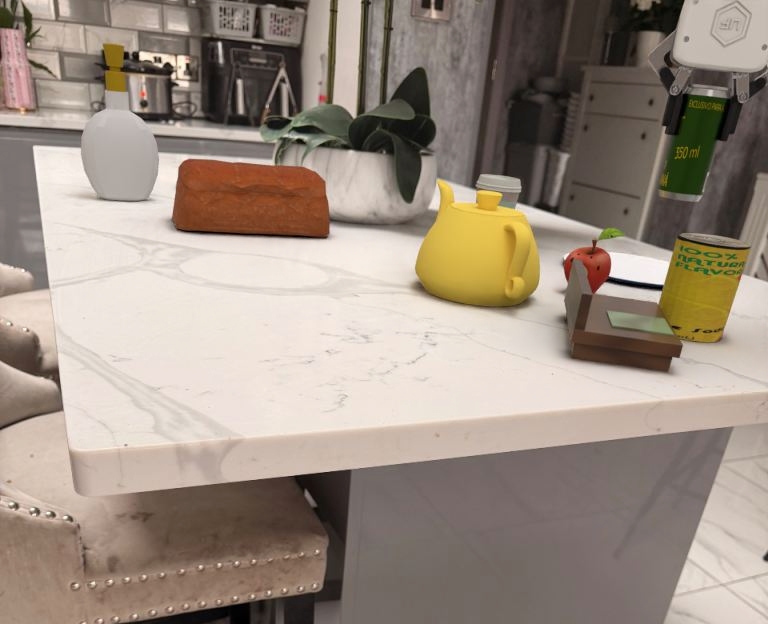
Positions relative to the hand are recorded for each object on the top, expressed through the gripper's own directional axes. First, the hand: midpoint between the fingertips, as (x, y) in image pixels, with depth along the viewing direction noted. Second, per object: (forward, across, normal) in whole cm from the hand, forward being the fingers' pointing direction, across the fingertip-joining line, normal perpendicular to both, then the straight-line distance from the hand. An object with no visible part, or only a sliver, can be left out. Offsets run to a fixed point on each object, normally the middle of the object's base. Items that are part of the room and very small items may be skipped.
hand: (695, 135), depth 90 cm
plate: (+24, +2, +40) cm, 47 cm away
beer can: (+7, 0, 0) cm, 7 cm away
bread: (+24, -66, +32) cm, 76 cm away
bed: (+23, -4, -8) cm, 25 cm away
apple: (+24, -7, +17) cm, 30 cm away
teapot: (+24, -24, +9) cm, 35 cm away
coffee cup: (+24, -24, +49) cm, 59 cm away
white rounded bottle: (+24, -96, +43) cm, 108 cm away
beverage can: (+24, +6, +3) cm, 25 cm away
